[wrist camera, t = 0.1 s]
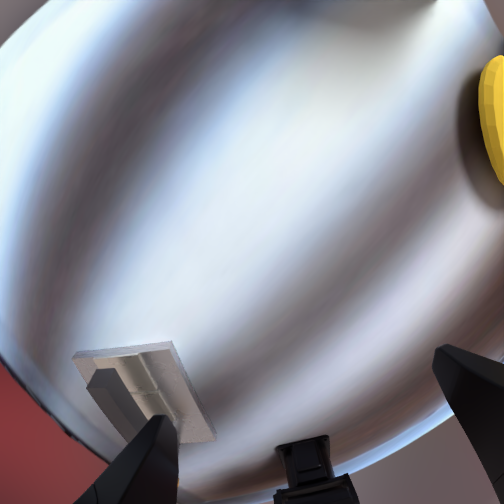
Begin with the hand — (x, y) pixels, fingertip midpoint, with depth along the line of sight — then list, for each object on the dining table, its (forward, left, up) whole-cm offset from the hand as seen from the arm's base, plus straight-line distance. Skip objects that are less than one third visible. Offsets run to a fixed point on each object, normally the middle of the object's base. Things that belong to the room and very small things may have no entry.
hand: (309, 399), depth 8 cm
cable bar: (-13, +15, -11) cm, 23 cm away
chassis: (-13, +15, -14) cm, 25 cm away
